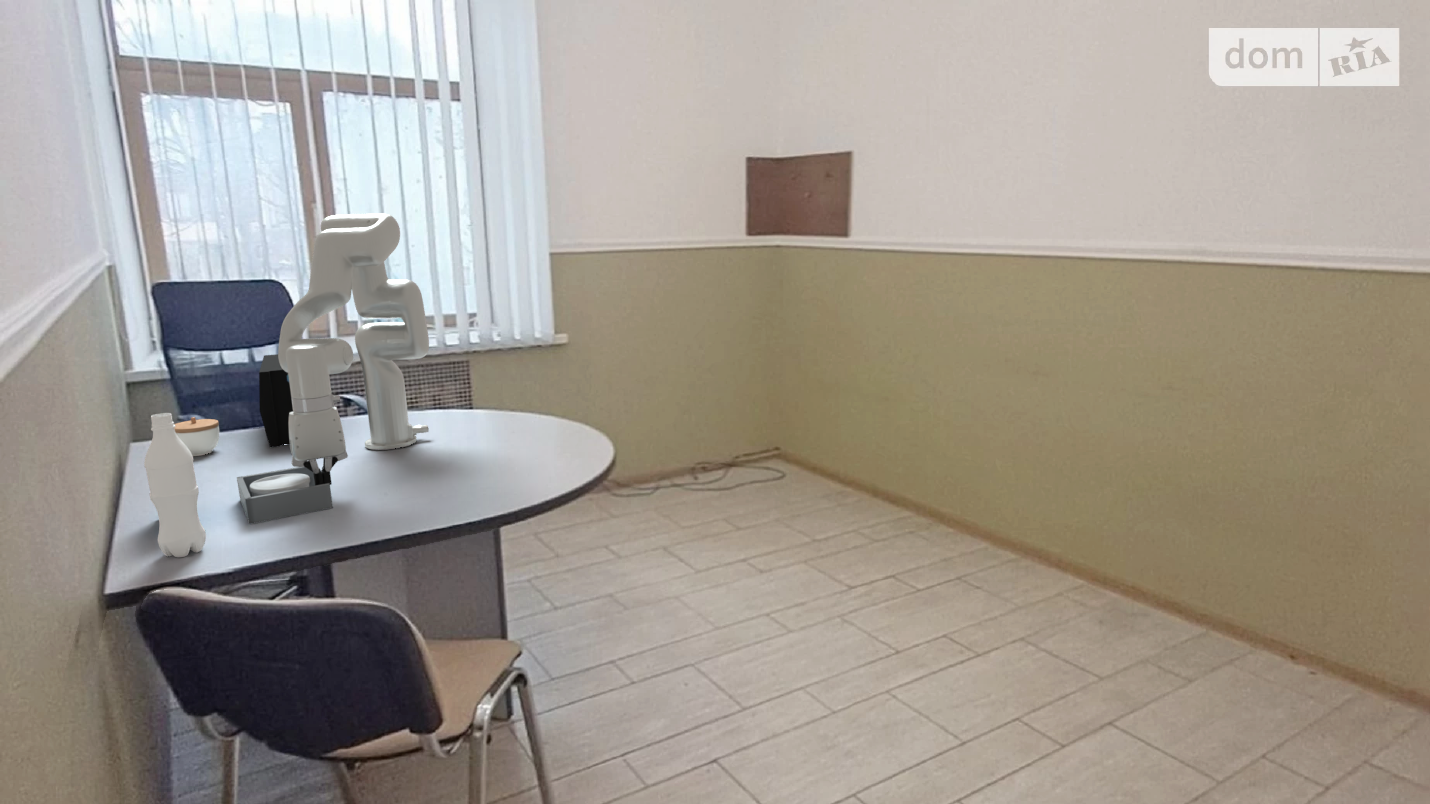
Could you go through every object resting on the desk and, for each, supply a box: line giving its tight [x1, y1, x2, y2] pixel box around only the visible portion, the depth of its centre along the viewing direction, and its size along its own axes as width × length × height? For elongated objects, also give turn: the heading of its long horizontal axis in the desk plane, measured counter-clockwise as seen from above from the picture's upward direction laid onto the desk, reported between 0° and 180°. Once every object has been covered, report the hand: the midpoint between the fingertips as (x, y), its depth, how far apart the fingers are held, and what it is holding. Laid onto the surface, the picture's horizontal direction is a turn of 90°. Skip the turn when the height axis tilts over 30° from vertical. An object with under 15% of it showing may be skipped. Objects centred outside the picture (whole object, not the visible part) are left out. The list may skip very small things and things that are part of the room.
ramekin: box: [250, 474, 310, 497], centre depth 173 cm, size 11×11×5 cm
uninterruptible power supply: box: [258, 353, 293, 448], centre depth 235 cm, size 16×34×20 cm, turn 26°
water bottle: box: [143, 412, 207, 558], centre depth 146 cm, size 7×7×25 cm
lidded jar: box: [173, 416, 220, 457], centre depth 214 cm, size 11×11×9 cm
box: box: [236, 467, 334, 525], centre depth 173 cm, size 15×18×5 cm
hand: (323, 489), depth 177 cm, fingers closed
